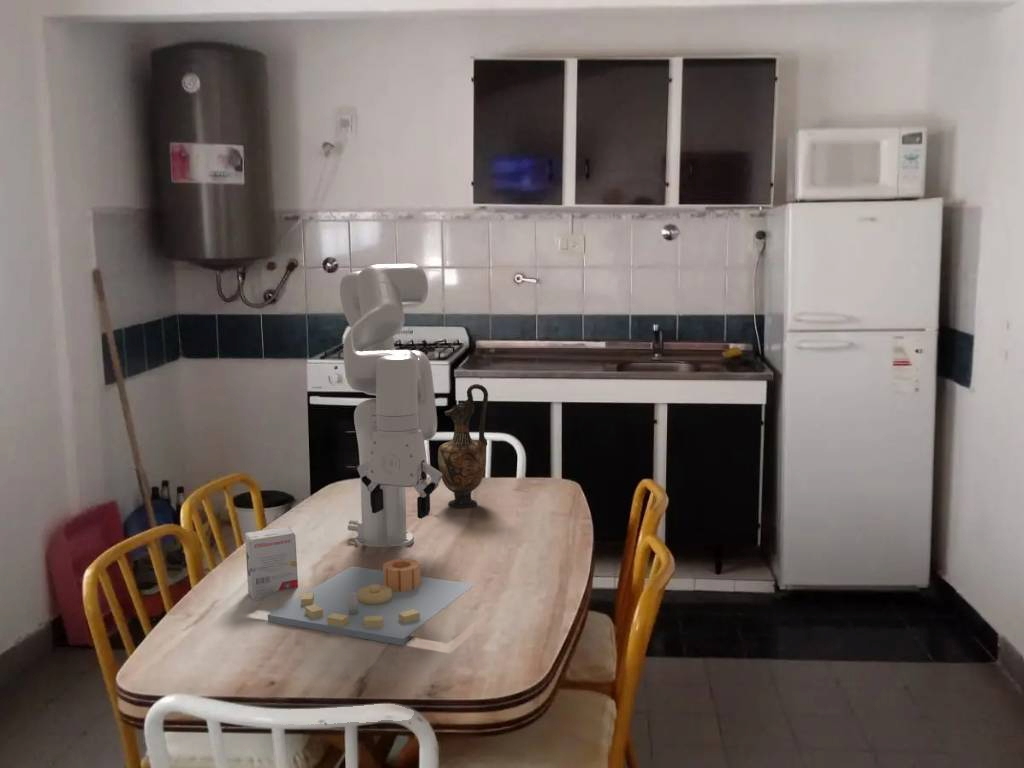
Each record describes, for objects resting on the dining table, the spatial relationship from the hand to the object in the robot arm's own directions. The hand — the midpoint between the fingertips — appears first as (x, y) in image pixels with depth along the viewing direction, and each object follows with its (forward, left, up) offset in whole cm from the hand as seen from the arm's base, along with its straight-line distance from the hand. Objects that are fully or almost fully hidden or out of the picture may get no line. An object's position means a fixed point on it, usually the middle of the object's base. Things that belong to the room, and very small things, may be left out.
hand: (400, 513), depth 186 cm
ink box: (-22, -10, -15) cm, 29 cm away
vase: (-15, +57, -15) cm, 61 cm away
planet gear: (0, 0, -14) cm, 14 cm away
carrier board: (-1, -8, -15) cm, 17 cm away
